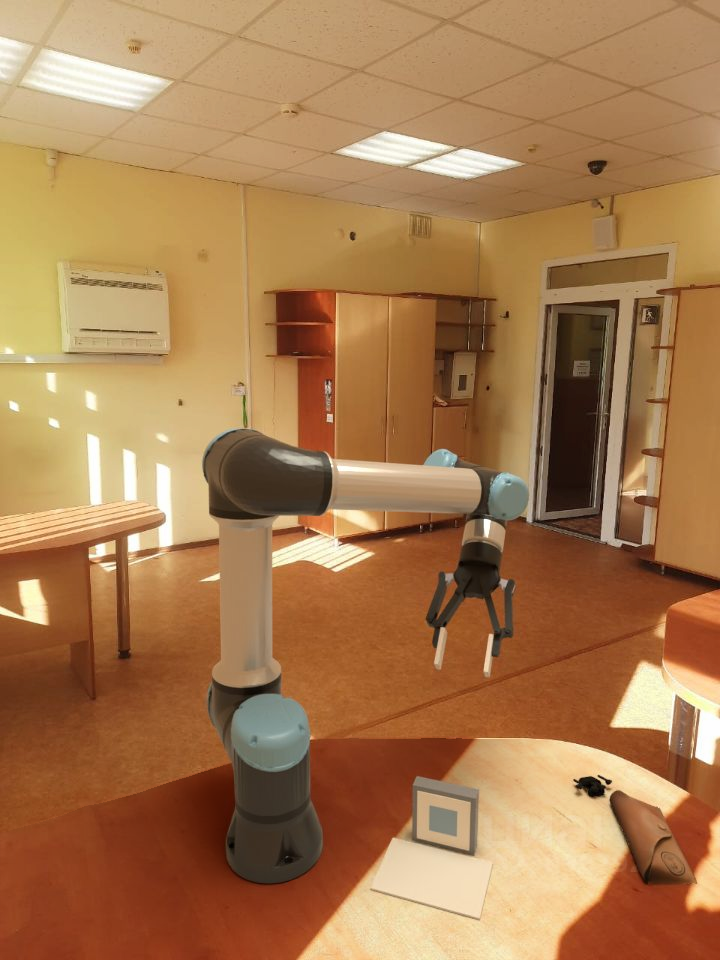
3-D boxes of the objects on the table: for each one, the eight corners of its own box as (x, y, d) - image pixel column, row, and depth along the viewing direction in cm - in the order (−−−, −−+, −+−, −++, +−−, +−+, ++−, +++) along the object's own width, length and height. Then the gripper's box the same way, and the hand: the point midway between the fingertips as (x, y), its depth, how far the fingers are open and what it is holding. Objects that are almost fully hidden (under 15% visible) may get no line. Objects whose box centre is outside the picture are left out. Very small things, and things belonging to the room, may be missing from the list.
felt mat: (370, 889, 100) (370, 887, 100) (392, 839, 110) (392, 837, 110) (479, 920, 95) (479, 918, 95) (492, 863, 105) (493, 862, 105)
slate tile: (411, 841, 110) (412, 785, 108) (416, 830, 112) (416, 776, 110) (474, 856, 106) (475, 799, 104) (477, 845, 109) (478, 789, 107)
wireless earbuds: (601, 772, 125) (617, 780, 120) (603, 787, 125) (619, 795, 120) (566, 778, 123) (581, 786, 119) (568, 793, 123) (583, 802, 118)
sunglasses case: (703, 886, 100) (682, 851, 99) (658, 905, 101) (638, 871, 100) (658, 804, 118) (640, 774, 117) (620, 822, 119) (602, 792, 118)
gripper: (539, 564, 125) (525, 687, 114) (430, 554, 132) (406, 668, 121) (538, 545, 119) (523, 672, 108) (424, 534, 126) (398, 653, 115)
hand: (461, 670), depth 114 cm, fingers open, 8 cm apart
